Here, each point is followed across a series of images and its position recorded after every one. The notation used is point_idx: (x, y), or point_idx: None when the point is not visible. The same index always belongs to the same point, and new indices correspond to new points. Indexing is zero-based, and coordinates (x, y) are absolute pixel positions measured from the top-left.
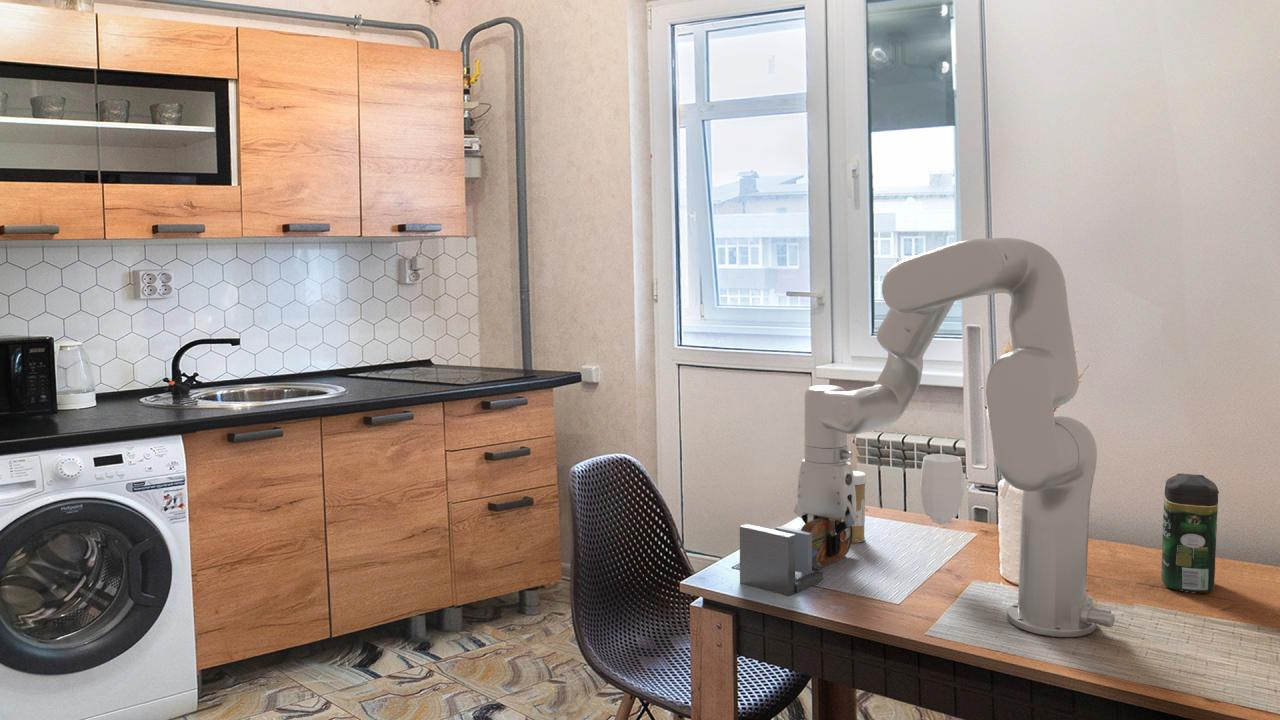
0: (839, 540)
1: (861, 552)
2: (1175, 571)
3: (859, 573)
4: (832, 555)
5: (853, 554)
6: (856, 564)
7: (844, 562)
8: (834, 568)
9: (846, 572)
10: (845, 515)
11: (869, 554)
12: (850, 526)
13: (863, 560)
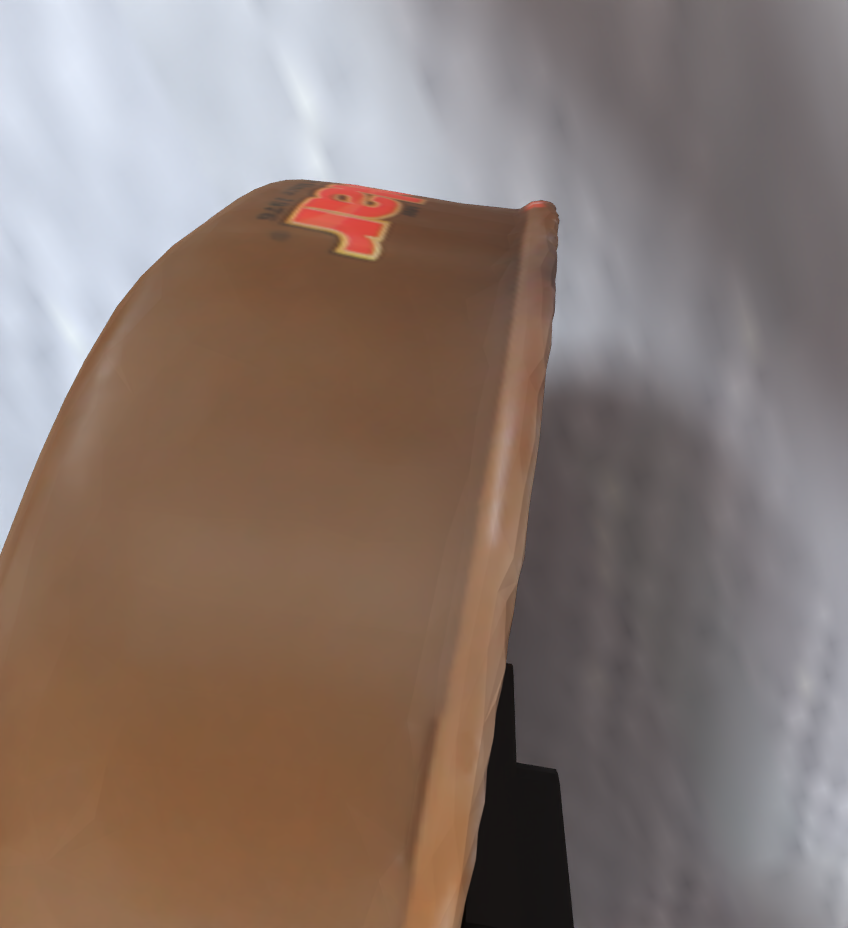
0: (562, 908)
1: (636, 24)
2: None
3: (828, 794)
4: None
5: (556, 200)
6: (721, 565)
7: (566, 564)
8: None
9: (692, 817)
10: (450, 763)
11: (785, 57)
12: (512, 261)
13: (765, 384)
